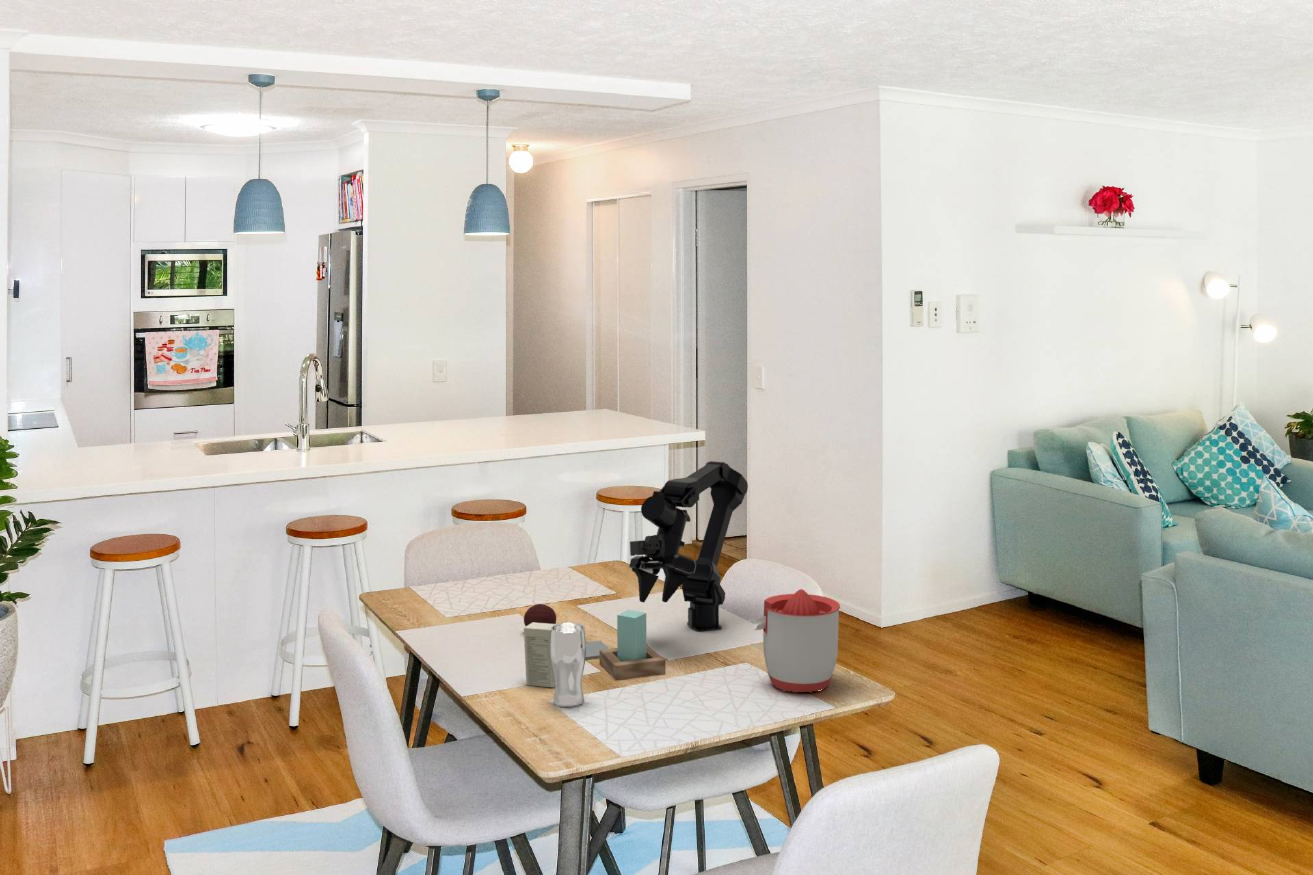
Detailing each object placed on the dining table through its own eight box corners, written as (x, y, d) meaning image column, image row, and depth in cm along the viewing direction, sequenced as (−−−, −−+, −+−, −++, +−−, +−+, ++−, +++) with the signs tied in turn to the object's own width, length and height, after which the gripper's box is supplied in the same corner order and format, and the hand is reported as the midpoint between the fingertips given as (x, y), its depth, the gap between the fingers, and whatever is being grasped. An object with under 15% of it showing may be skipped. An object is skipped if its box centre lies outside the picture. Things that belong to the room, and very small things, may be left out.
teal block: (628, 663, 238) (628, 609, 237) (646, 667, 236) (646, 612, 235) (617, 669, 235) (617, 615, 233) (635, 673, 232) (635, 618, 231)
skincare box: (561, 681, 228) (561, 623, 226) (553, 688, 223) (552, 629, 222) (533, 678, 230) (532, 620, 228) (524, 684, 226) (523, 626, 224)
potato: (551, 639, 256) (551, 609, 255) (519, 637, 257) (519, 607, 256) (560, 629, 263) (560, 600, 262) (529, 627, 264) (529, 599, 263)
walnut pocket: (647, 657, 242) (647, 644, 242) (665, 673, 232) (665, 659, 232) (599, 663, 239) (599, 650, 238) (615, 679, 228) (615, 665, 228)
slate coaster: (600, 642, 253) (600, 640, 253) (614, 656, 243) (614, 653, 243) (558, 647, 249) (558, 645, 249) (570, 661, 240) (570, 658, 240)
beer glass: (551, 696, 219) (549, 622, 217) (586, 694, 220) (585, 621, 218) (550, 708, 212) (549, 633, 210) (586, 707, 213) (586, 632, 211)
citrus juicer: (750, 671, 234) (751, 578, 231) (833, 671, 233) (835, 579, 231) (755, 697, 218) (756, 599, 216) (843, 698, 218) (845, 599, 215)
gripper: (618, 525, 251) (601, 591, 247) (663, 520, 236) (645, 590, 231) (658, 540, 256) (641, 605, 252) (704, 536, 241) (687, 606, 236)
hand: (652, 601), depth 243 cm, fingers open, 9 cm apart
